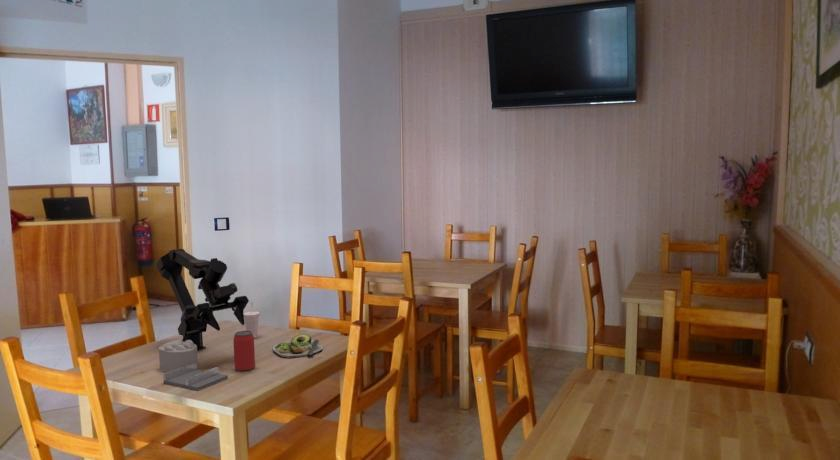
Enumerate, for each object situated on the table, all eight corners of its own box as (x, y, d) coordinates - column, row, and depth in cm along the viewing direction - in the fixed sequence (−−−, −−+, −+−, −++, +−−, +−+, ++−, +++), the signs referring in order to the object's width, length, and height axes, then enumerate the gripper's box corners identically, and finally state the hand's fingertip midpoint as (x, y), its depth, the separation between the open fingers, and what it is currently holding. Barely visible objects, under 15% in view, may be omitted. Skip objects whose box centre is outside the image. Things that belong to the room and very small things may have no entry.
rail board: (194, 371, 202) (194, 362, 202) (227, 378, 195) (227, 369, 194) (163, 383, 191) (163, 373, 191) (197, 390, 184) (197, 380, 184)
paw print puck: (183, 360, 214) (181, 336, 214) (206, 367, 207) (204, 341, 206) (155, 368, 206) (153, 343, 205) (178, 375, 198) (176, 349, 198)
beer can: (231, 368, 205) (229, 333, 203) (249, 363, 209) (247, 329, 208) (240, 372, 200) (239, 336, 199) (259, 368, 204) (257, 332, 203)
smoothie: (264, 336, 244) (262, 301, 243) (251, 340, 239) (250, 304, 237) (252, 334, 247) (251, 300, 246) (240, 338, 242) (238, 303, 241)
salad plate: (332, 355, 218) (332, 342, 218) (283, 363, 210) (282, 350, 210) (315, 342, 235) (315, 330, 235) (269, 349, 227) (268, 337, 227)
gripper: (194, 280, 203) (214, 318, 197) (244, 272, 217) (264, 307, 211) (184, 301, 209) (203, 338, 203) (233, 292, 223) (252, 326, 216)
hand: (231, 327), depth 208 cm, fingers open, 9 cm apart
